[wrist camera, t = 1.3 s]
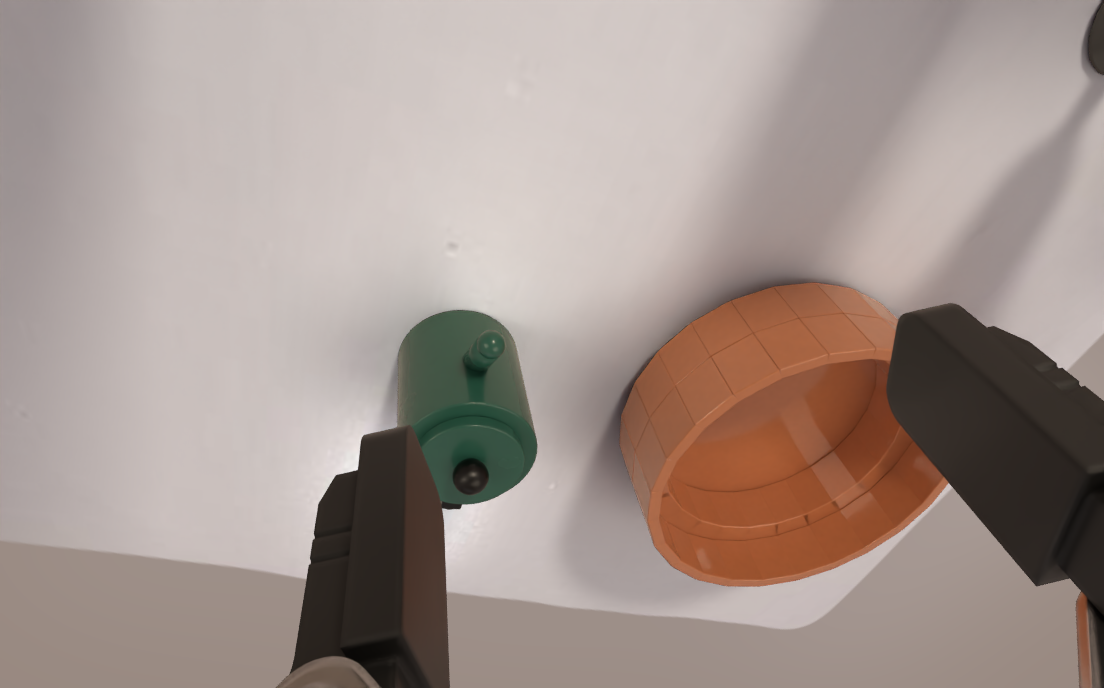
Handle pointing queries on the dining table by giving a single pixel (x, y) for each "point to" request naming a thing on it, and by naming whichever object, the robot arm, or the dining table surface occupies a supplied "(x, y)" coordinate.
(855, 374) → the bowl
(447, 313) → the kettle
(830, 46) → the dining table surface
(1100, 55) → the sundae
